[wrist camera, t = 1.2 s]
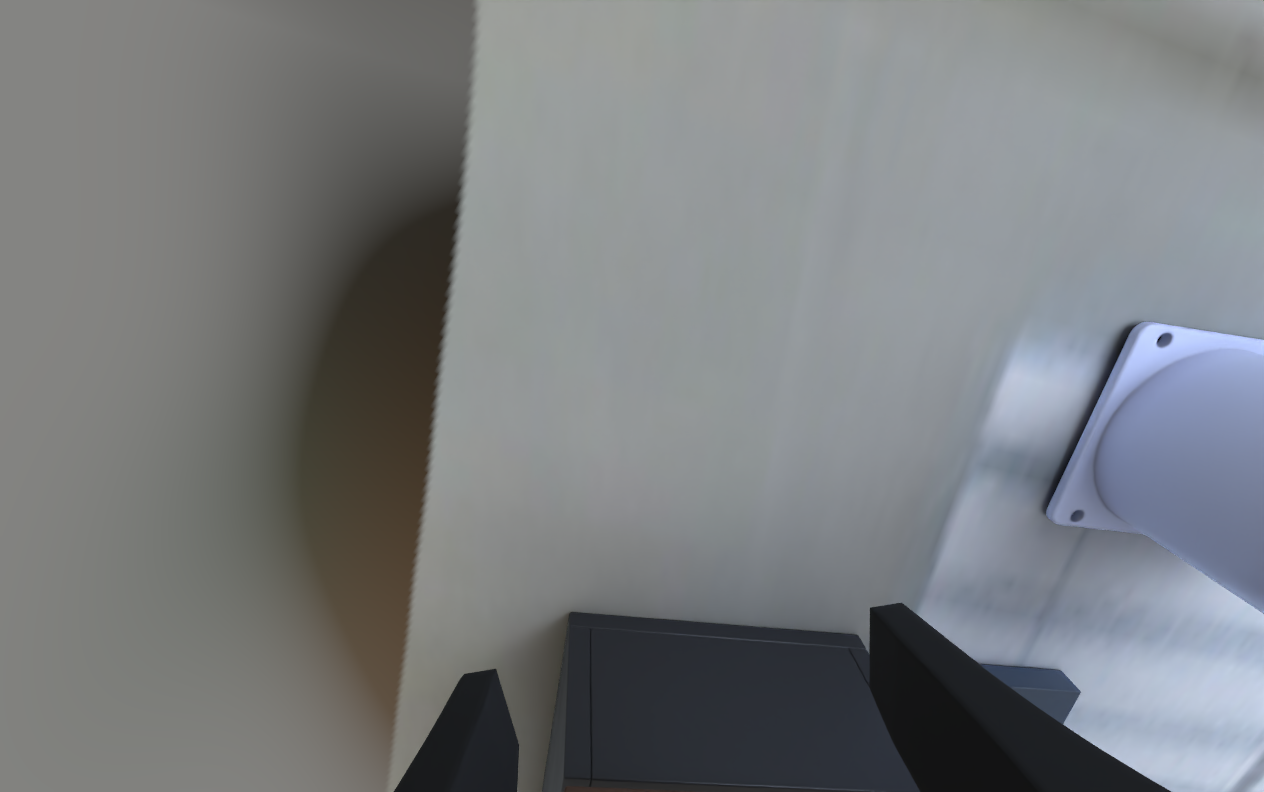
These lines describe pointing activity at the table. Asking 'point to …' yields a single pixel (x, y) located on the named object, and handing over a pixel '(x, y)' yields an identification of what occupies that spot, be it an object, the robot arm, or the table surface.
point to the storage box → (717, 710)
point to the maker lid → (612, 789)
